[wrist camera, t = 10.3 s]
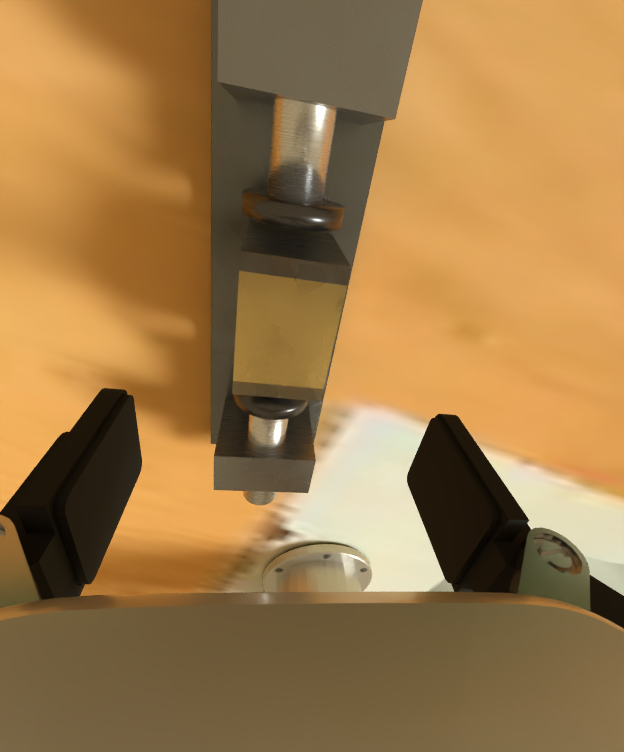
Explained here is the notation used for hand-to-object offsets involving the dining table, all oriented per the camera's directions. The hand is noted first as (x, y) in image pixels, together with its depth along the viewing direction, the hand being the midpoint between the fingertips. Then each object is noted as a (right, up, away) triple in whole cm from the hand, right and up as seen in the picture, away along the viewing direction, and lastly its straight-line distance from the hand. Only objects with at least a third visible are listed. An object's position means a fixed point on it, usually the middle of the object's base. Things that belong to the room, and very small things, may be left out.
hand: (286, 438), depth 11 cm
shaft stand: (-1, +8, +10) cm, 13 cm away
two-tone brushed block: (-1, +7, +10) cm, 12 cm away
